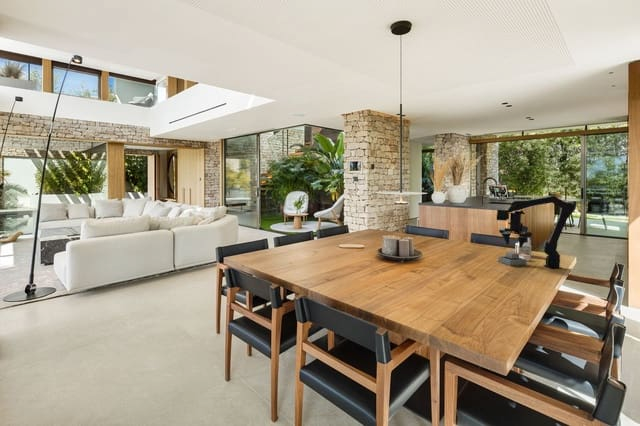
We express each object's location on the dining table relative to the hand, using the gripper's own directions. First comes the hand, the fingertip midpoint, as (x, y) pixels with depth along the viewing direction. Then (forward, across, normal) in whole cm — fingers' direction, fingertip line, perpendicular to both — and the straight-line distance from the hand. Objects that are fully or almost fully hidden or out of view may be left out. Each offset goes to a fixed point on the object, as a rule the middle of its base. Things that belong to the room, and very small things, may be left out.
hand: (514, 246), depth 202 cm
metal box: (+10, 0, +2) cm, 10 cm away
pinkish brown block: (+11, +4, -13) cm, 18 cm away
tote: (+11, 0, +2) cm, 11 cm away
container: (+11, +14, -24) cm, 30 cm away
